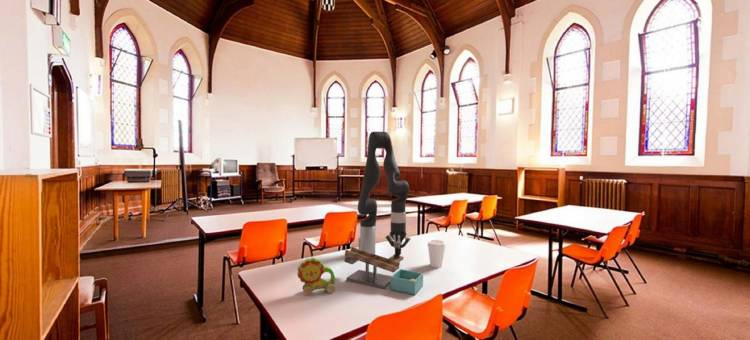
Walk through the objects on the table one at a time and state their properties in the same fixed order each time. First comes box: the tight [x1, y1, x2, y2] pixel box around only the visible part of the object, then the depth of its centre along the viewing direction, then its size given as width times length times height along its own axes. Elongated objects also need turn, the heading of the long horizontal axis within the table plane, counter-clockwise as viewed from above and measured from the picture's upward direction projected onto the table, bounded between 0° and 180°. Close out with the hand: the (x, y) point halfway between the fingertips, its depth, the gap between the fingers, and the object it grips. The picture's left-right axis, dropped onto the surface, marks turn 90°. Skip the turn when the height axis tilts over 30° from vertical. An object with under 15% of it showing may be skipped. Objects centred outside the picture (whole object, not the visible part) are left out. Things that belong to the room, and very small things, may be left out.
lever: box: [344, 246, 404, 274], centre depth 159 cm, size 26×18×6 cm
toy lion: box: [297, 257, 336, 296], centre depth 139 cm, size 16×5×15 cm, turn 105°
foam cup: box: [427, 239, 446, 269], centre depth 175 cm, size 10×9×13 cm
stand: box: [345, 262, 393, 290], centre depth 154 cm, size 20×12×10 cm, turn 64°
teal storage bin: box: [390, 268, 424, 296], centre depth 146 cm, size 11×11×6 cm
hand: (398, 255), depth 160 cm, fingers closed
